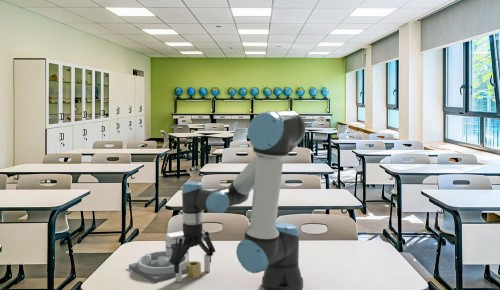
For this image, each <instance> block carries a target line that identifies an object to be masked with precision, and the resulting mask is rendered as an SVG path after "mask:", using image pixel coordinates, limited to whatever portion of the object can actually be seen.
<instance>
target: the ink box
mask: <svg viewBox="0 0 500 290" xmlns="http://www.w3.org/2000/svg"><path fill="white" fill-rule="evenodd" d="M183 236H184V234H183V230H180V231H175V232H169V233H166V234H165V251H166V256H168V252H167V250H169V257H171V255H172V253H173V250H174V247H175V244H176V238H177V237H179V238H183ZM183 243H184V241H183ZM183 243H182V244H183ZM186 246H187V245H186ZM181 248H182V247H181ZM189 250H190V249H189ZM189 250H187V252H186V255H187V256H188V261H190V255H189Z"/></svg>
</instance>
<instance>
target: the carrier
mask: <svg viewBox="0 0 500 290" xmlns="http://www.w3.org/2000/svg"><path fill="white" fill-rule="evenodd" d="M167 252H168V256H166V250H161V251H160V250H159V251H153V252H149V253H146V254H144V255H142V256H140V257H139V258H138V260H137V261H136V262H134V263H130V264H128V269H129V270H131V271H134V272H135V273H137V274H138V275H141V276H143V277H145V278H147V279H148V280H150V281H151V282H154V283H155V284H156V283H159V282H161V281H165V280H168V279H170V278H171V279H172V278H174V277H176V273H175V272H174V265H173V264H171V263H169V261H170V258H171V257H169V250H167ZM188 262H191V261H190V260H188V256H187V255H186V254H185V255H184V257H183V259H182V261H181V262H180V264H181V270H182V275H184V274H187V270H186V264H187V263H188Z"/></svg>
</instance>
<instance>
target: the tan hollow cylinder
mask: <svg viewBox="0 0 500 290" xmlns="http://www.w3.org/2000/svg"><path fill="white" fill-rule="evenodd" d="M186 270H187V273H186V278H187V279H190V280H197V279H200V278H201V277H202V263H201V262H200V261H198V260H193V261H192V260H191V261H190V262H188V263H187V264H186Z"/></svg>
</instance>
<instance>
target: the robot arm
mask: <svg viewBox="0 0 500 290" xmlns="http://www.w3.org/2000/svg"><path fill="white" fill-rule="evenodd" d="M305 134H306V123H305V121H304V119H303V117H302V116H301V115H300V114H299V113H297V112H296V111H294V110H278V111H277V110H275V111H273V110H271V111H270V110H269V111H265V112H261V113H258V114H257V115H255V116H254V117H253V118H252V119H251V121H250V123H249V125H248V129H247V137H248V140H249V142H250V144H251V146H252V147H253V149H252V152H253V153H254V154H255V155H254V157H253V158H252V159H251V160H250V162H248V164H246V166H245V167H244V168H243V170H242V171H240V173H239V174H238V175H237V176H236V177H235V179H233V181H232V182H231V183H230V184H229V185H228V186H225V187H222V188H218V189H217V188H216V189H214V190H211V189H210V190H208V189H203V184H202V183H201V182H200V181H187V182H184V183H183V184H182V186H181V188H182V189H181V196H182V197H181V198H182V199H181V200H182V222H183V223H182V231H183V234H184V236H183V238H179V237H177V238H176V244H175V247H174V250H173V253H172V255H171V258H170V261H169V263H171V264H173V265H174V272H175V273H176V276H175V280H176V281H178V282H183V281H182V277H183V274H182V270H181V264H180V262H181V261H182V259H183V257H184V255H185V254H186V252H187V250H190V249H191V248H193V247H197V246H198V247H200V248H201V250H203V253H204V254H203V257H204V259H203V261H204V264H203V265H204V266H203V267H204V268H203V270H204V271H205V272H207V273H210V272H211V263H212V257H213V255H214V253H216V248H215V247H214V246H215V245H213V242H212V239H211V237H210V235H209V231H206V230H203V211H206V212H211V213H213V214H215V213H216V214H222V213H224V212H225V211H227V210H228V208H230V207H233V206H236V205H241V204H243V203H245V202H246V201H248V199H249V196H250V192H251V191H252V190H253V194H252V202H251V203H252V204H251V213H250V214H251V215H250V224H249V225H248V226H246V227H245V231H244V237H243V240H241V241H240V242H239V243H238V244H237V245H236V253H235V254H236V258H237V260H238V262H239V263H240V266H241V267H242V268H243V269H245V270H246V271H247V272H249V273H252V274H259V273H261V272H264V273H263V275H262V279H261V286H262V287H261V288H262V289H264V290H302V289H303V288H304V278H303V276H302V273H301V270H300V264H299V250H300V249H299V248H300V247H299V245H300V235H299V234H300V232H299V228H298V226H296V225H295V224H291V223H286V222H277V217H278V211H279V210H278V209H279V200H280V199H279V198H280V190H281V183H282V182H281V181H282V174H283V165H284V159H286V158H287V157H288V156H289V154H290V153H291V152H293V150H295V148H296V147H297V146H298V145H299V144H300V143H301V142H302V140H303V139H304V137H305ZM202 238H203V240H204V241H202ZM183 241H184V243H183ZM204 242H205V243H204ZM182 243H183V244H182ZM186 245H187V246H186ZM181 247H182V248H181Z"/></svg>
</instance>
